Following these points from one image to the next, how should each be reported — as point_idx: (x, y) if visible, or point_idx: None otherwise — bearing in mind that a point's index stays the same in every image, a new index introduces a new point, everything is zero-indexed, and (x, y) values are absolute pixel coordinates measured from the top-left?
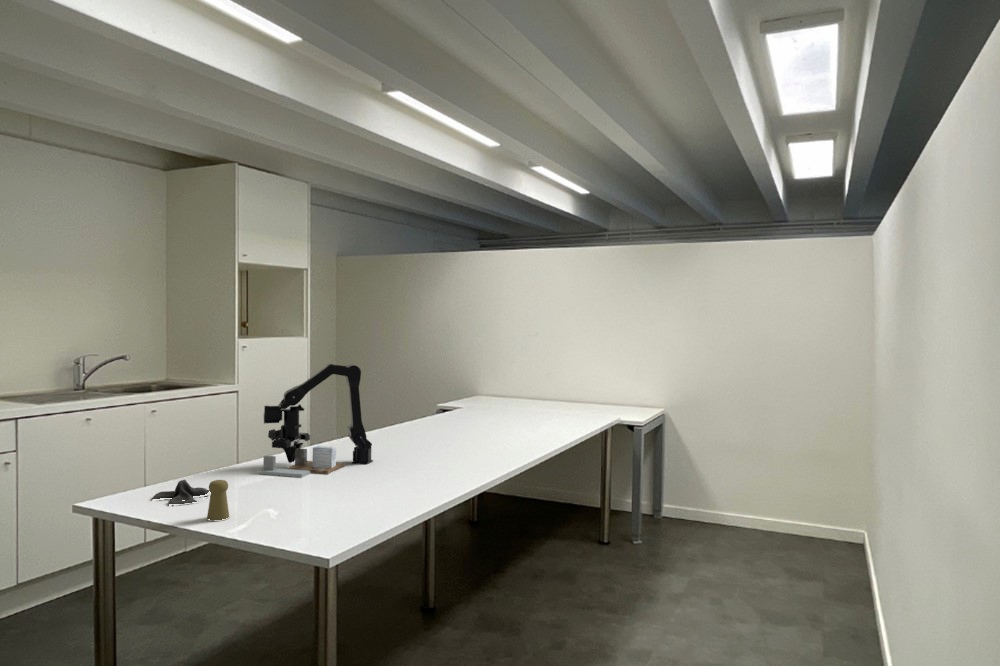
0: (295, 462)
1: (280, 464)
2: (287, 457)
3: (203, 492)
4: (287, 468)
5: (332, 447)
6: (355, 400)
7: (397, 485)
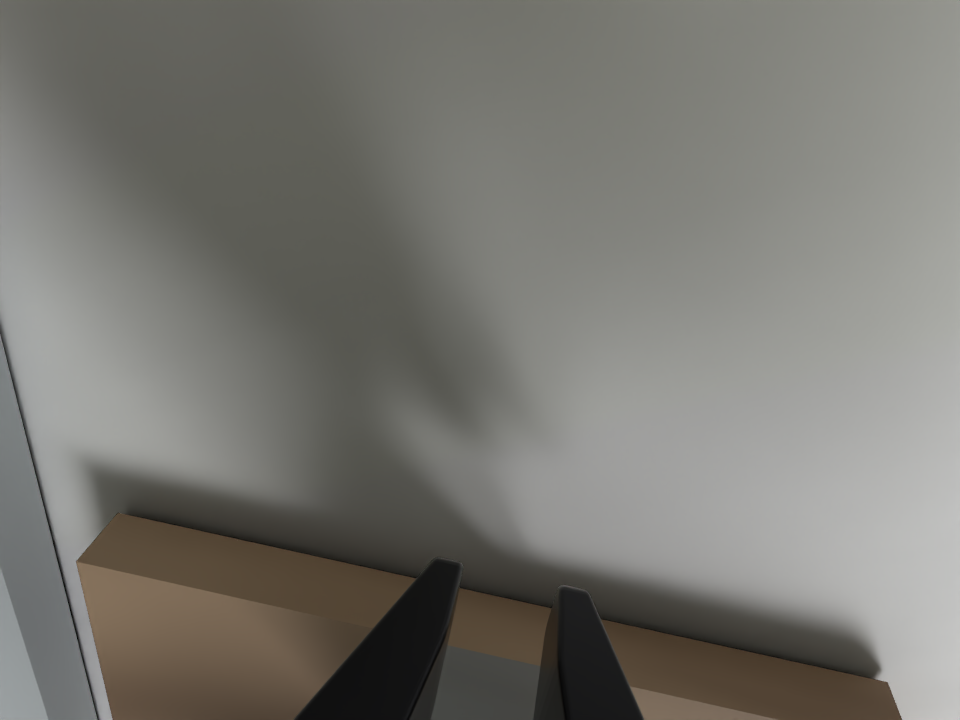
0: None
1: (877, 140)
2: (340, 673)
3: None
4: (87, 567)
5: None
6: None
7: None
